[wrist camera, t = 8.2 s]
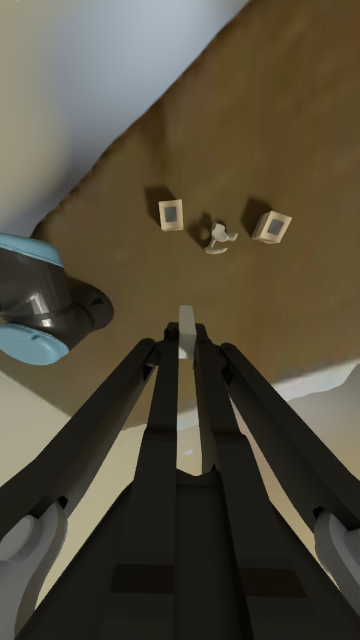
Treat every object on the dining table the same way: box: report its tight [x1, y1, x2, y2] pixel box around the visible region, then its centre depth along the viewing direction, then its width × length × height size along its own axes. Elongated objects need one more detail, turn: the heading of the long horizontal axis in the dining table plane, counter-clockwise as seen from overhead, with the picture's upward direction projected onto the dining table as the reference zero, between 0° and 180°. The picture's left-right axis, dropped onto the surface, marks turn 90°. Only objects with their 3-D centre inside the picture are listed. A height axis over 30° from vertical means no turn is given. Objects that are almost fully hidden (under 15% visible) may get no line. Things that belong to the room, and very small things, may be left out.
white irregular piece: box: [204, 222, 238, 254], centre depth 34 cm, size 9×6×10 cm
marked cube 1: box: [251, 211, 292, 244], centre depth 34 cm, size 5×5×5 cm
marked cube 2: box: [159, 200, 183, 231], centre depth 33 cm, size 5×5×5 cm
